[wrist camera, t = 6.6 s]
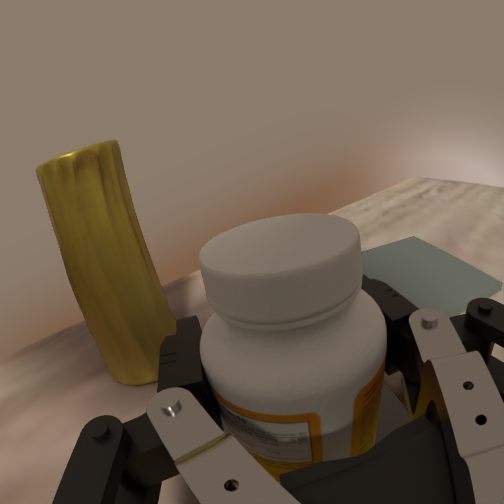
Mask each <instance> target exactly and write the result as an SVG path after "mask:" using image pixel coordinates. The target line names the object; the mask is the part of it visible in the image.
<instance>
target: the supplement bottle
mask: <svg viewBox="0 0 504 504" xmlns="http://www.w3.org/2000/svg"><path fill="white" fill-rule="evenodd" d="M199 264H200V269H201V273H202V277H203V282H204V286H205V290H206V296H207V299H208V301H209V303H210V304H211V307H212V309H213V310H214V312H213V314H212V315H211V316H210V318H209V319H208V321H207V322H206V324H205V327H204V329H203V332H202V335H201V339H200V356H201V362H202V365H203V368H204V371H205V375H206V378H207V380H208V383H209V385H210V388H211V390H212V393H213V395H214V397H215V400H216V402H217V405H218V407H219V410H220V412H221V415H222V417H223V420H224V422H225V424H226V427H227V429H228V431H229V433H230V434H231V435H232V436H233V437H234V438H235V439H236V440H237V441H238V442H239V443H240V444H241V445H242V446H243V447H244V449H245V450H246V451H247V452H248V453H249V454H250V455H251V456H252V457H253V458H254V459H255V460H256V461H257V462H258V463H259V464H260V465H261V466H262V467H263V468H264V469H265V470H266V471H267V472H268V473H269V474H270V475H271V476H272V477H273V478H274V479H275V480H276V481H277V482H278V483H279V484H280V485H281V482H280V479H279V476H278V475H280V474H283V473H287V472H290V471H293V470H297V469H300V468H303V467H306V466H309V465H312V464H315V463H318V462H324V461H330V460H337V459H343V458H348V457H353V456H358V455H361V454H363V453H365V452H366V451H368V450H369V449H370V448H372V447H373V446H374V442H375V437H376V430H377V424H378V417H379V410H380V404H381V397H382V388H383V380H384V371H385V361H386V350H387V330H386V323H385V318H384V316H383V314H382V312H381V309H380V308H379V306H378V305H377V303H376V302H375V301H374V299H373V298H372V297H371V296H370V295H368V294H367V293H366V292H365V291H363V290H362V289H361V286H362V276H363V266H362V257H361V244H360V234H359V231H358V229H357V227H356V226H355V225H354V224H353V223H352V222H350V221H349V220H347V219H344V218H341V217H338V216H333V215H326V214H308V213H307V214H304V213H303V214H291V215H283V216H276V217H270V218H265V219H261V220H257V221H253V222H249V223H246V224H243V225H240V226H238V227H235V228H232V229H230V230H228V231H226V232H223V233H221V234H219V235H218V236H216V237H214V238H213V239H211V240H210V241H209V242H207V243H206V244H205V245H204V247H203V248H202V249H201V251H200V254H199Z"/></svg>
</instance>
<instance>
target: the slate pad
mask: <svg viewBox="0 0 504 504" xmlns="http://www.w3.org/2000/svg"><path fill="white" fill-rule="evenodd" d="M361 257H362V266H363V274H364V275H366V276H367V277H368V278H369V279H373V278H374V279H377V280H380V281H383V282H385V283H386V284H388V285H389V286H390V287H392V288H393V290H396V291H397V292H398V293H399V294H400V295H402V296H404V297H405V298H406V299H407V300H409V301H410V302H411V303H413V304H414V305H415V306H416V307H418V308H419V309H423V308H434V309H438V310H441V311H443V312H444V313H445V314H446V315H447V316H448V317H453V316H456V315H458V314H460V313H462V312H464V311H465V310H466V309H467V305H468V303H469V302H470V301H471V300H473V299H476V298H488V297H490V296H491V295H493V294H495V293H496V292H498V291H500V290H501V287H502V282H500V281H498V280H497V279H495V278H493V277H491V276H490V275H488V274H486V273H484V272H482V271H481V270H479V269H477V268H475V267H473V266H471V265H470V264H468V263H466V262H464V261H462V260H460V259H458V258H456V257H454V256H453V255H451V254H449V253H447V252H445V251H443V250H441V249H439V248H437V247H435V246H433V245H431V244H429V243H427V242H425V241H423V240H421V239H419V238H417V237H415V236H412V237H409V238H406V239H403V240H400V241H396V242H393V243H390V244H386V245H383V246H380V247H377V248H373V249H370V250H367V251H363V252H361Z"/></svg>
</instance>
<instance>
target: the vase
mask: <svg viewBox="0 0 504 504" xmlns="http://www.w3.org/2000/svg"><path fill="white" fill-rule="evenodd" d="M36 173H37V178H38V181H39V183H40V186H41V189H42V192H43V196H44V199H45V202H46V206H47V209H48V213H49V216H50V220H51V223H52V226H53V230H54V233H55V235H56V238H57V241H58V244H59V248H60V251H61V255H62V258H63V262H64V265H65V269H66V273H67V276H68V279H69V282H70V284H71V287H72V290H73V292H74V295H75V297H76V300H77V302H78V304H79V307H80V309H81V311H82V313H83V316H84V318H85V320H86V323H87V325H88V327H89V329H90V331H91V334H92V335H93V337H94V339H95V341H96V343H97V346H98V348H99V350H100V352H101V354H102V356H103V357H104V359H105V361H106V365H107V368H108V371H109V374H110V375H111V376H112V378H113V379H114V380H116V381H117V382H119V383H122V384H125V385H132V386H138V385H145V384H149V383H152V382H155V381H158V368H159V358H160V356H159V352H160V345H161V344H162V342H163V340H164V339H165V337H166V336H170V335H174V334H176V321H175V318H174V316H173V314H172V312H171V309H170V307H169V305H168V302H167V300H166V297H165V294H164V291H163V289H162V286H161V284H160V281H159V278H158V276H157V273H156V270H155V268H154V265H153V262H152V259H151V256H150V254H149V251H148V248H147V246H146V243H145V240H144V237H143V234H142V231H141V228H140V225H139V222H138V219H137V216H136V213H135V210H134V206H133V202H132V198H131V194H130V190H129V186H128V182H127V179H126V175H125V171H124V166H123V162H122V157H121V152H120V147H119V144H118V141H117V140H110V141H105V142H101V143H97V144H93V145H90V146H87V147H84V148H80V149H77V150H74V151H72V152H69V153H66V154H63V155H61V156H58V157H56V158H53V159H52V160H49V161H47V162H45V163H43V164H41V165H39V166H38V167H37V169H36Z"/></svg>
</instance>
